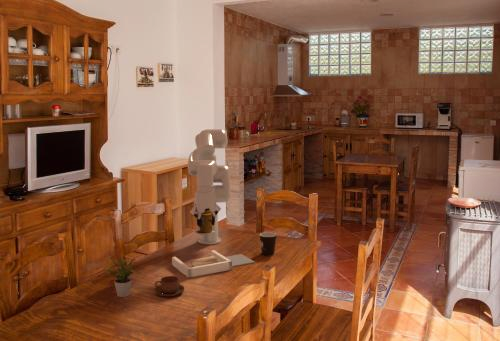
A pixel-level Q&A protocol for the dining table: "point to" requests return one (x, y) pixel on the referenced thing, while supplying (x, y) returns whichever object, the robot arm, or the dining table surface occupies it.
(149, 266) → the dining table surface
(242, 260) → the mat
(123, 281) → the house plant
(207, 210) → the condiment
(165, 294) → the cup and saucer
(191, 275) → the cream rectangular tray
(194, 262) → the offcuts
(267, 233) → the coffee mug
